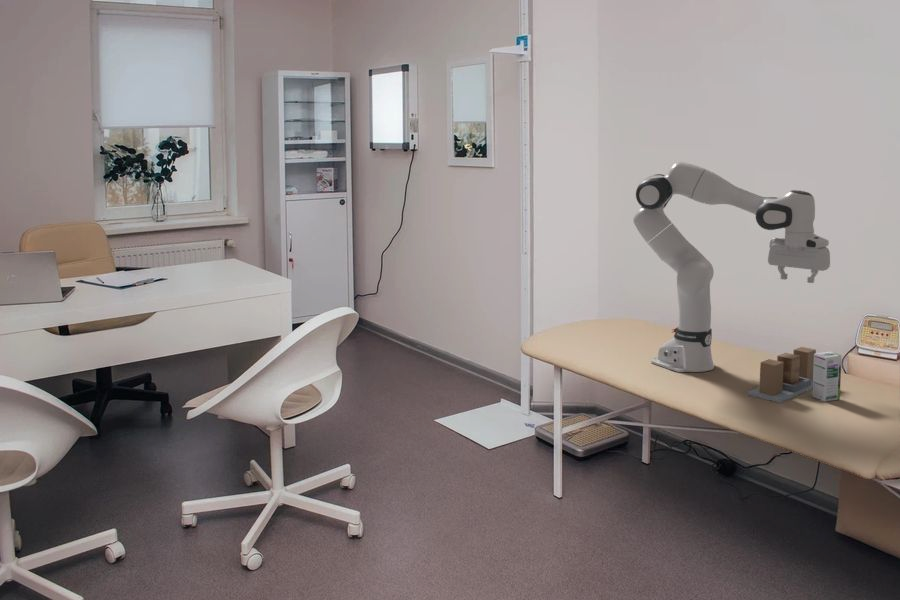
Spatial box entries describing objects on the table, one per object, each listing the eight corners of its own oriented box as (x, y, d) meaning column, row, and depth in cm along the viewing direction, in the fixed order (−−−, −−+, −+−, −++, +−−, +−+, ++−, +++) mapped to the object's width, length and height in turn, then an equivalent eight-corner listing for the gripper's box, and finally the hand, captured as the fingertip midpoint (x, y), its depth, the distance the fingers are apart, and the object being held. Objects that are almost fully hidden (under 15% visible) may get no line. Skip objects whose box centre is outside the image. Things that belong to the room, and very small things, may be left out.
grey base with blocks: (748, 394, 267) (749, 361, 264) (793, 375, 284) (795, 344, 281) (779, 402, 258) (781, 368, 256) (825, 382, 275) (827, 350, 273)
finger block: (776, 385, 271) (777, 355, 269) (784, 381, 274) (785, 352, 272) (790, 388, 268) (791, 358, 265) (798, 385, 271) (800, 355, 268)
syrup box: (824, 402, 257) (827, 357, 254) (811, 396, 263) (813, 352, 260) (840, 400, 259) (842, 355, 256) (826, 394, 264) (829, 350, 261)
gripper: (765, 238, 280) (763, 278, 283) (823, 243, 265) (821, 286, 268) (775, 236, 284) (773, 275, 287) (833, 241, 269) (831, 283, 271)
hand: (797, 280), depth 277 cm, fingers open, 8 cm apart
